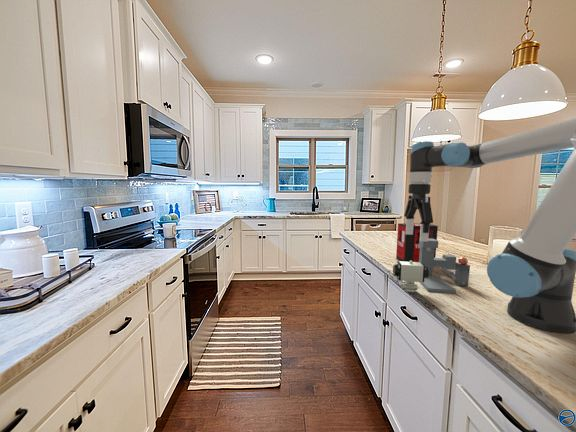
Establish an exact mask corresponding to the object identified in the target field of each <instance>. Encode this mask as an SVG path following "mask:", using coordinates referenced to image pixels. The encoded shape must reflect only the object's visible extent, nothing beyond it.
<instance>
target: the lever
mask: <svg viewBox="0 0 576 432" xmlns="http://www.w3.org/2000/svg"><path fill="white" fill-rule="evenodd" d="M468 263H469V260H468V259H467V258H466V257H464V256H461V257H458V262H456V267H455V270H454V272H453V271H452V270H451V269H445V268H443V267H440V269H441V270H442V271H443V272H445V273H446V274H447V275H448V276H450V277H451V278H453V279H454V281H453V282H454V284H456V285H457V286H462V287H463V286H464V287H469V281H470V280H469V279H470V272H471V271H470V268H471V265H469V264H468Z"/></svg>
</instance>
